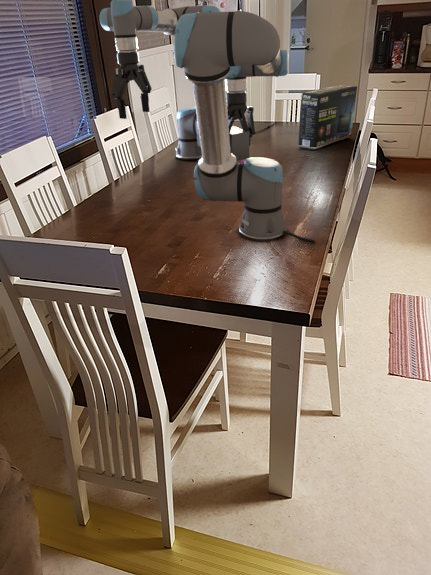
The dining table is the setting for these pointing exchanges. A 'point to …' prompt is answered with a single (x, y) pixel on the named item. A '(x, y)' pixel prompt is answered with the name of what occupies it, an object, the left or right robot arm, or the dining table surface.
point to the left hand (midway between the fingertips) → (135, 115)
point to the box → (235, 142)
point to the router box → (326, 115)
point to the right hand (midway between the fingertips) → (236, 156)
